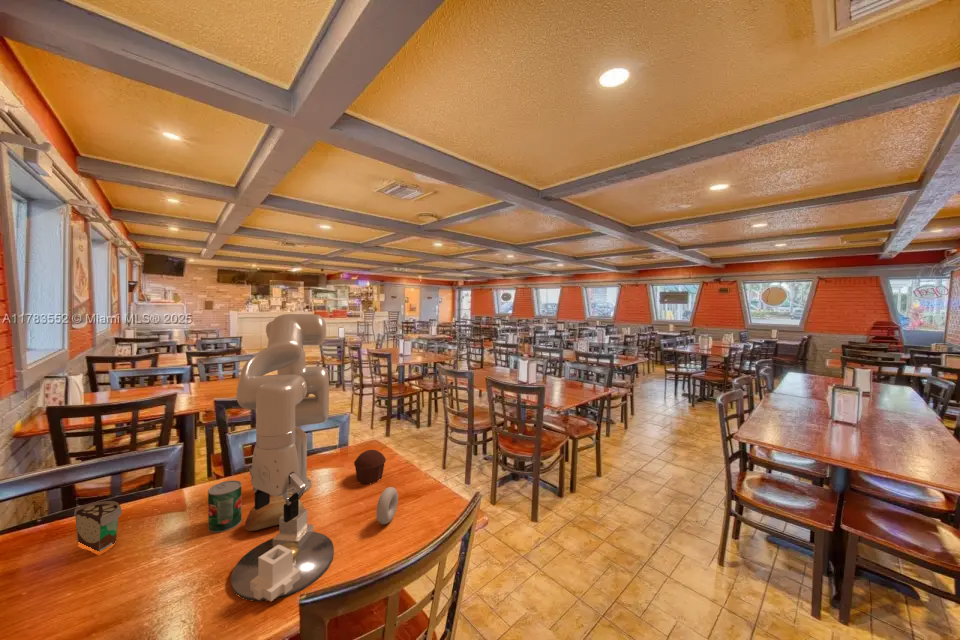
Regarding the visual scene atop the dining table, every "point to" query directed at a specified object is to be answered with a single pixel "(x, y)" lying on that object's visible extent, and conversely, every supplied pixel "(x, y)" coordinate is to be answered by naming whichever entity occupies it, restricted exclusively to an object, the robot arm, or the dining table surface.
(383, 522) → the donut
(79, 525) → the food container
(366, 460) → the muffin
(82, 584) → the dining table surface
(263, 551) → the carrier
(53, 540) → the dining table surface
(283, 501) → the bread roll
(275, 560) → the hollow square tube block
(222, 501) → the canned tomato
